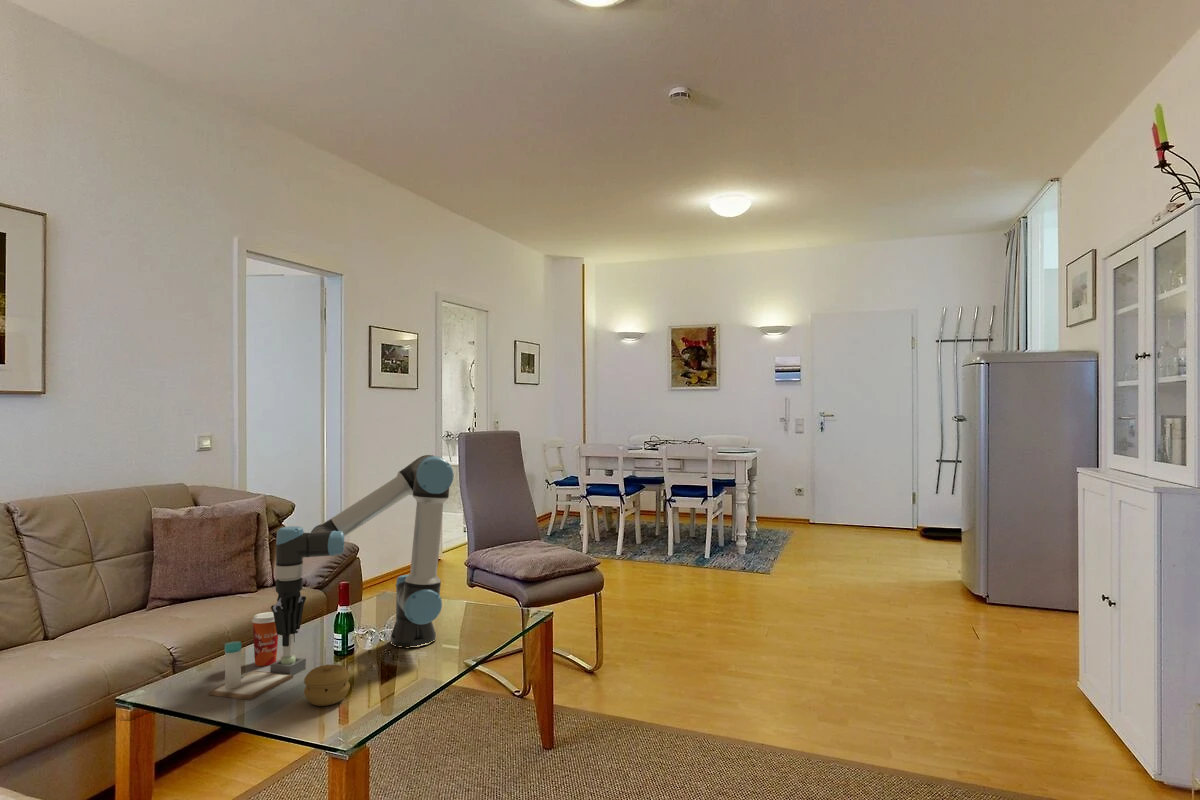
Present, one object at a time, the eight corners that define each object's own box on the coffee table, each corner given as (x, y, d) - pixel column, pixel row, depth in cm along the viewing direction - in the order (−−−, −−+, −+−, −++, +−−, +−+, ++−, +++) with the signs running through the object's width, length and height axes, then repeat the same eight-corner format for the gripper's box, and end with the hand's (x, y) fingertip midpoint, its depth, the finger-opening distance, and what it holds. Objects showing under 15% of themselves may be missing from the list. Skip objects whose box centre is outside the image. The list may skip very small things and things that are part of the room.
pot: (350, 691, 197) (350, 655, 197) (349, 707, 186) (349, 669, 186) (305, 696, 193) (305, 660, 193) (301, 713, 182) (302, 675, 182)
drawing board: (293, 677, 207) (293, 672, 207) (250, 700, 191) (250, 694, 191) (253, 673, 211) (253, 668, 211) (208, 694, 194) (208, 689, 194)
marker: (244, 684, 199) (244, 641, 200) (233, 689, 195) (233, 646, 196) (232, 683, 200) (232, 640, 201) (221, 688, 196) (221, 645, 197)
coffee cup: (251, 669, 214) (251, 620, 215) (250, 660, 221) (251, 613, 222) (281, 664, 218) (281, 616, 218) (279, 656, 225) (280, 610, 226)
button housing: (305, 668, 215) (305, 658, 215) (290, 676, 208) (290, 666, 208) (286, 666, 217) (286, 656, 217) (270, 674, 210) (270, 664, 210)
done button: (298, 667, 214) (298, 655, 214) (289, 671, 210) (289, 659, 210) (287, 666, 215) (287, 653, 215) (278, 670, 211) (278, 658, 211)
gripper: (293, 572, 220) (292, 648, 220) (263, 582, 208) (262, 661, 207) (313, 574, 218) (313, 650, 218) (284, 583, 206) (283, 664, 205)
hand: (288, 655), depth 212 cm, fingers closed
